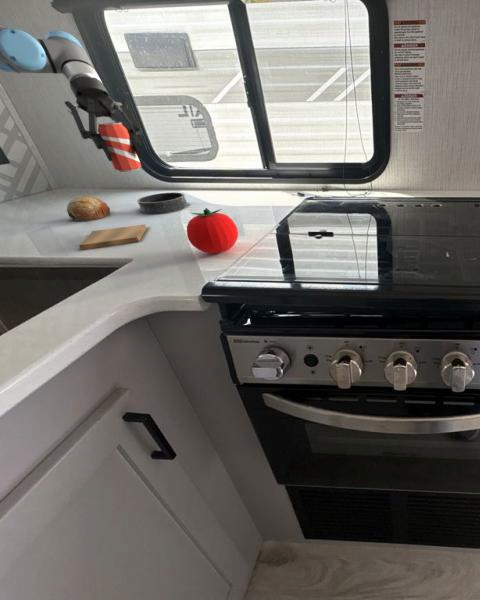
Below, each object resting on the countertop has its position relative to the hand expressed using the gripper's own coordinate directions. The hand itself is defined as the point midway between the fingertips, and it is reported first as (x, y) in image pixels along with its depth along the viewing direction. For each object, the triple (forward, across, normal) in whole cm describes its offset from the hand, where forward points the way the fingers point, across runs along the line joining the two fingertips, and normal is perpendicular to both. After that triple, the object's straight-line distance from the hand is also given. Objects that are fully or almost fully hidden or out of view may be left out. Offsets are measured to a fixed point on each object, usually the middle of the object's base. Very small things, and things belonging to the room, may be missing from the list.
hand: (125, 155), depth 90 cm
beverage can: (+1, 0, -6) cm, 6 cm away
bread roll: (0, +12, -26) cm, 29 cm away
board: (+20, +10, -5) cm, 23 cm away
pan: (+4, -6, -21) cm, 22 cm away
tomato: (+41, -5, +15) cm, 44 cm away
